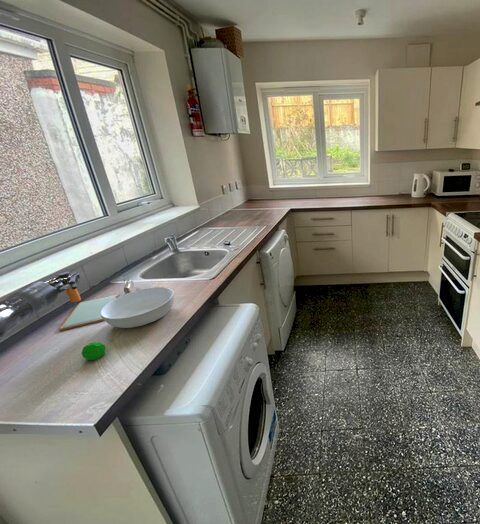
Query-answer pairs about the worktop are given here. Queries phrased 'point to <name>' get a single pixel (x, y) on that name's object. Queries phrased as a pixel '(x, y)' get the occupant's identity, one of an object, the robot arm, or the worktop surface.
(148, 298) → the serving bowl
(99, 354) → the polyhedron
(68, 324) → the pale green board
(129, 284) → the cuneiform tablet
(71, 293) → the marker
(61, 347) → the worktop surface
